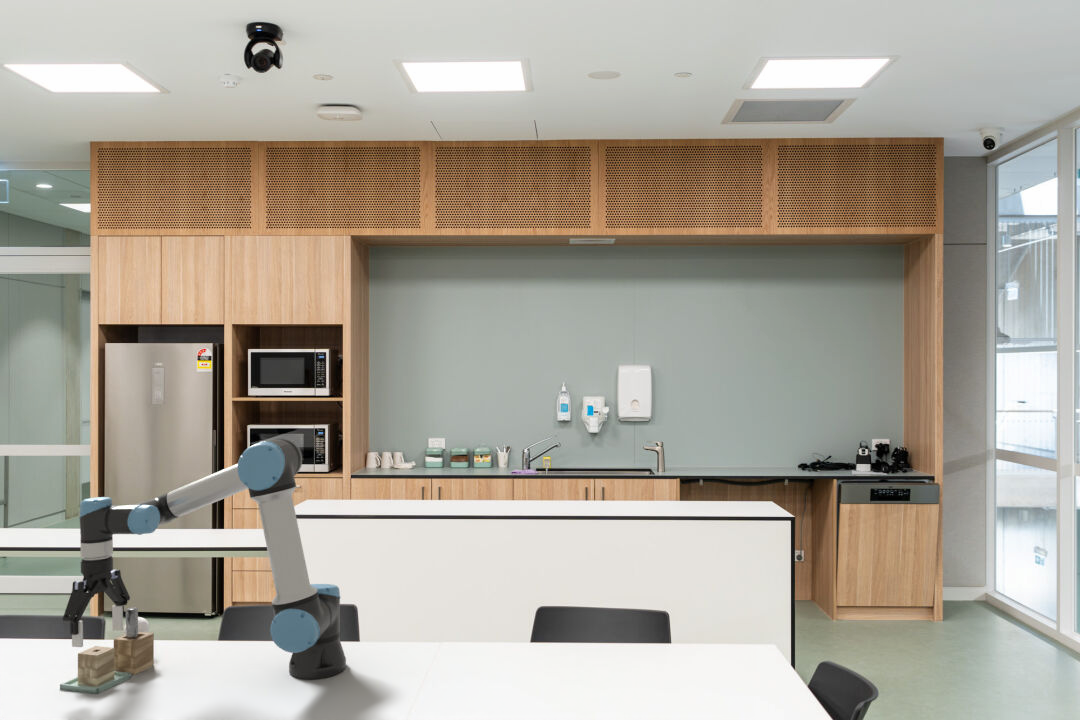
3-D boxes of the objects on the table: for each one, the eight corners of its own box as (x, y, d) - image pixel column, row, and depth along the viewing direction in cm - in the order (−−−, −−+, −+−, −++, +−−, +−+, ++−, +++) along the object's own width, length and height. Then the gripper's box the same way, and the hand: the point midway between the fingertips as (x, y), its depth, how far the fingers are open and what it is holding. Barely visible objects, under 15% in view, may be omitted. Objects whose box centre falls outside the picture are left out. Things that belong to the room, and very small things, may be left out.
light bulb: (130, 661, 233) (130, 622, 233) (119, 656, 237) (119, 618, 237) (153, 655, 238) (153, 616, 239) (141, 650, 242) (142, 612, 243)
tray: (130, 677, 221) (130, 672, 221) (97, 693, 210) (97, 689, 210) (95, 673, 224) (95, 668, 224) (59, 689, 213) (59, 684, 213)
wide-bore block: (153, 665, 230) (153, 633, 230) (135, 674, 223) (135, 641, 223) (132, 663, 232) (132, 631, 232) (113, 672, 225) (113, 639, 225)
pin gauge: (141, 661, 228) (140, 607, 228) (133, 665, 225) (131, 610, 225) (132, 661, 229) (131, 607, 229) (124, 664, 226) (123, 610, 226)
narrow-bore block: (114, 678, 219) (114, 647, 219) (96, 686, 213) (97, 655, 213) (95, 676, 221) (95, 646, 221) (77, 684, 215) (77, 653, 215)
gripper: (120, 546, 230) (121, 622, 230) (45, 567, 206) (47, 653, 206) (143, 547, 228) (144, 624, 228) (70, 568, 204) (71, 654, 204)
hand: (98, 638), depth 217 cm, fingers open, 13 cm apart
